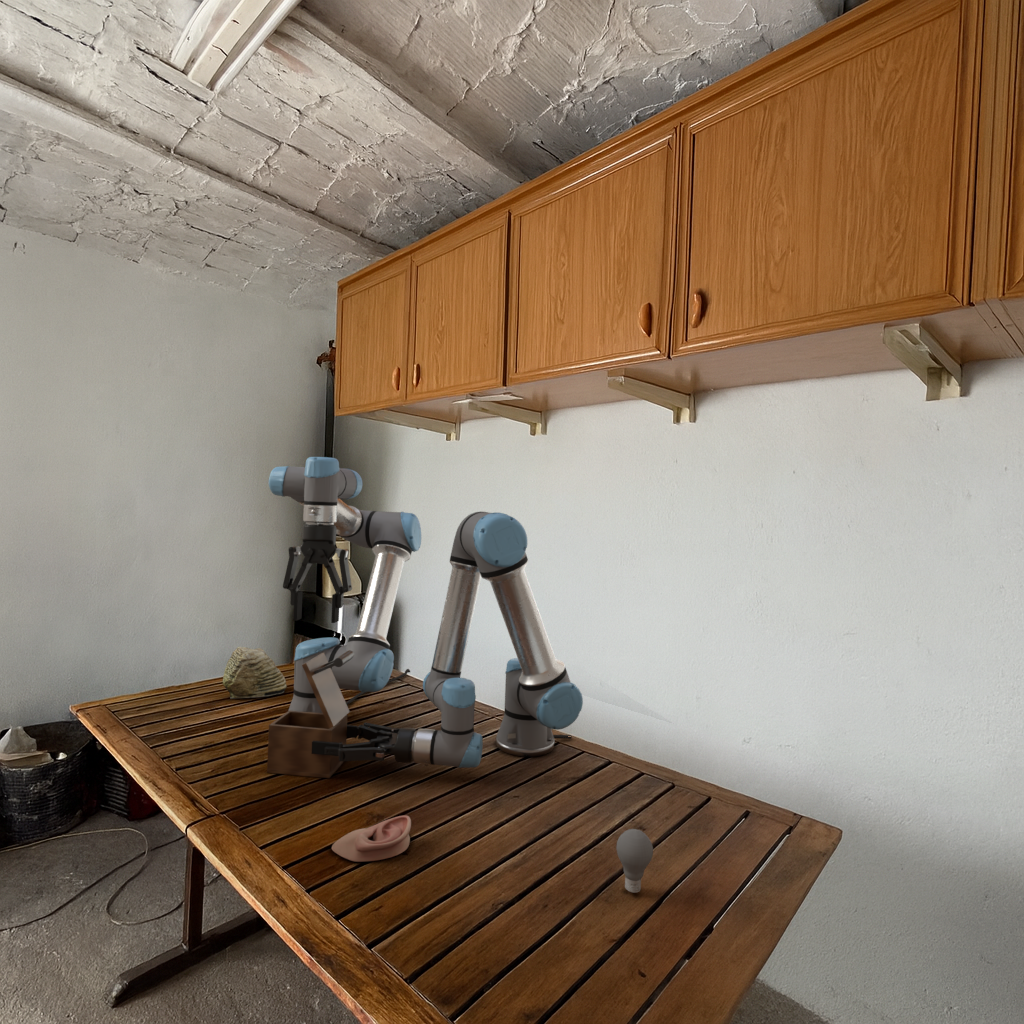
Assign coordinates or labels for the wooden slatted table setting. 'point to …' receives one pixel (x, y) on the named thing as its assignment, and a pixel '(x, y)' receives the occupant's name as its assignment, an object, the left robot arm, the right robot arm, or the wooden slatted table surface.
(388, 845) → the anatomical model
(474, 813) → the wooden slatted table surface
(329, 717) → the lid
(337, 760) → the chest
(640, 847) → the light bulb
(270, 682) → the fossil
